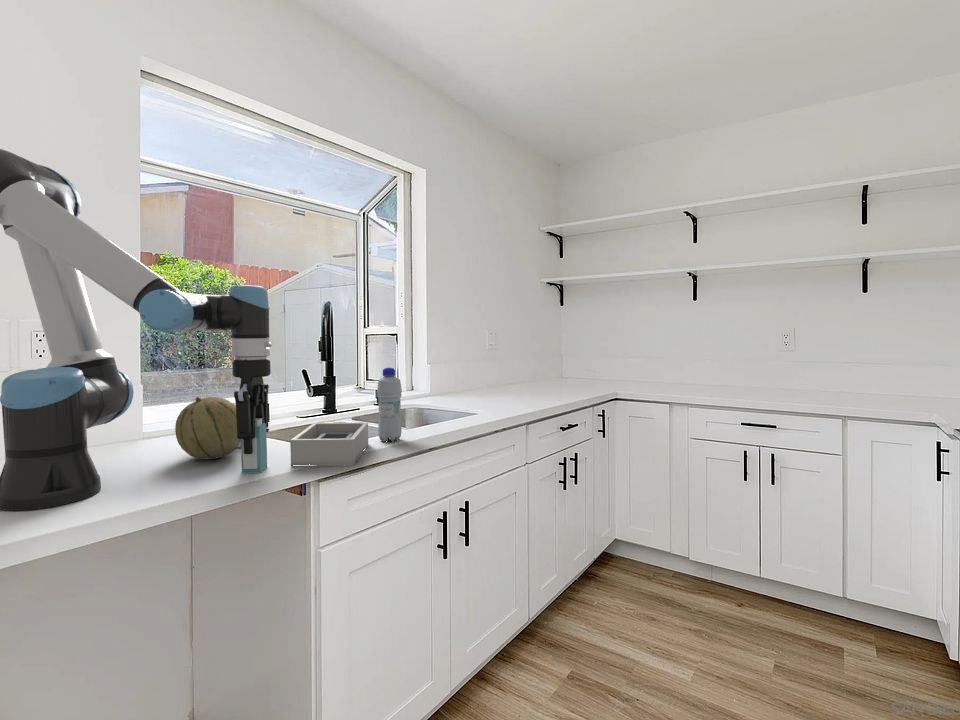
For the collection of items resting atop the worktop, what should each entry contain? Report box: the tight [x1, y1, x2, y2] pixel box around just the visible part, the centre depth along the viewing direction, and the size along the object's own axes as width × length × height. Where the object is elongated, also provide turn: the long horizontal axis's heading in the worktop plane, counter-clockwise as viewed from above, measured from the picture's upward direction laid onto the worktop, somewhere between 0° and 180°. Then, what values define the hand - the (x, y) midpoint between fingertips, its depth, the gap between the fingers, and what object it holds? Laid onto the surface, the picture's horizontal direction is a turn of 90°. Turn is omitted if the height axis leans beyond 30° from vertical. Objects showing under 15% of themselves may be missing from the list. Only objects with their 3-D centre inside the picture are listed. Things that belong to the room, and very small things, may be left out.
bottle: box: [376, 367, 403, 442], centre depth 143 cm, size 7×7×20 cm
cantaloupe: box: [174, 396, 241, 460], centre depth 124 cm, size 15×15×15 cm
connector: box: [240, 418, 268, 474], centre depth 114 cm, size 4×4×11 cm
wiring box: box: [289, 422, 369, 467], centre depth 127 cm, size 20×14×6 cm
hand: (254, 465), depth 114 cm, fingers closed on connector, 4 cm apart
